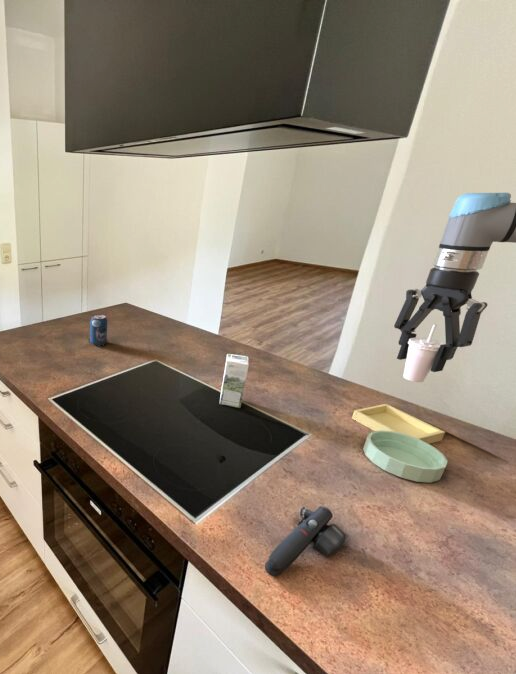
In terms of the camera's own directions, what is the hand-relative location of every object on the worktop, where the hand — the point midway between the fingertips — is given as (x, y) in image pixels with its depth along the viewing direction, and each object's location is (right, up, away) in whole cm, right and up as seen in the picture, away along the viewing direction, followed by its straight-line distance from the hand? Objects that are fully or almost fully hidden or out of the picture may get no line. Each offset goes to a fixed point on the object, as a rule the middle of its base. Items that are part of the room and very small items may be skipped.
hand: (418, 364), depth 86 cm
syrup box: (-36, -13, +20) cm, 44 cm away
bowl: (-9, -22, -5) cm, 24 cm away
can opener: (-45, -31, -25) cm, 60 cm away
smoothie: (0, -4, +1) cm, 4 cm away
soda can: (-72, +4, +64) cm, 96 cm away
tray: (0, -17, +7) cm, 19 cm away
